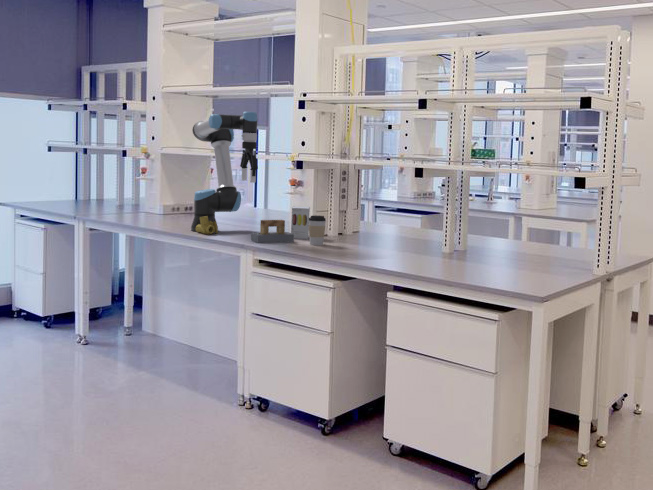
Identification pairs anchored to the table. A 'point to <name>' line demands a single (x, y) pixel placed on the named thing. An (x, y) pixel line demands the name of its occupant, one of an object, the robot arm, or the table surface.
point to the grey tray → (272, 237)
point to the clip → (271, 223)
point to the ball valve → (206, 226)
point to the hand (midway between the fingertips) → (248, 181)
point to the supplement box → (300, 222)
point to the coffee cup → (316, 230)
